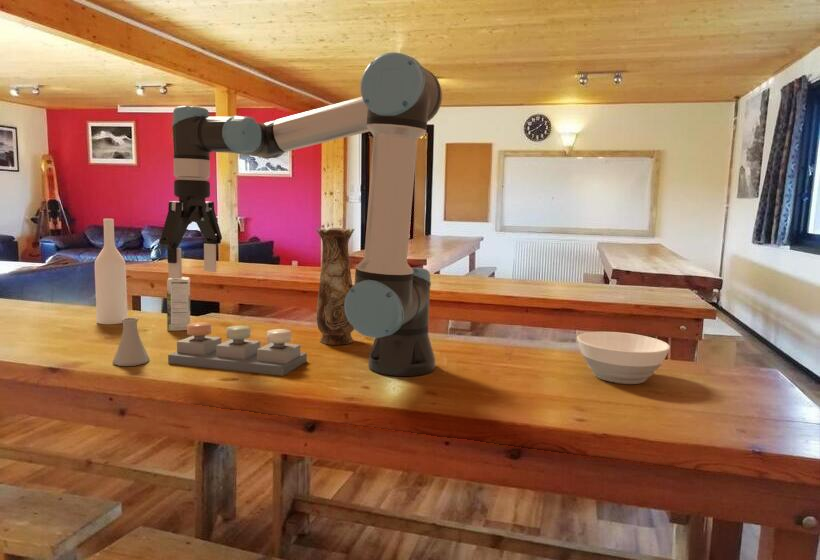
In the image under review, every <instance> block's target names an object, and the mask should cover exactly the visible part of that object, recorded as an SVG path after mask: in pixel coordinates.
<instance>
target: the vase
mask: <svg viewBox="0 0 820 560" xmlns="http://www.w3.org/2000/svg"><path fill="white" fill-rule="evenodd" d="M315 230H316V231H317V233H318V235H319V237H320V239H321V241H322V245H321V246H322V250H321V251H322V252H321V253H322V254H321V255H322V256H321V267H320V278H319V284H318V295H317V304H316V324H317V329H318V331H319V332H320V333H321V337H320V341H319V342H320V343H322V344H324V345H329V346H330V345H332V346H333V345H334V346H337V345H339V346H340V345H347V344H352V343H353V342H354V339H353V337H352V332H353V331H354V330H355V329H354V327H353V326H352V325H351V324H350V323H349V321H348V319H347V317H346V314H345V308H344V304H345V298H346V295H347V293H348V292H349V290H350V289H351V288H352V287H353V286H354V285H353V279H352V272H351V264H350V255H349V240H350V239H351V236H352V235H353V233H354V231H355V228H346V229H344V228H342V227H330V228H328V229H325V228H321V229H320V228H316V229H315Z"/></svg>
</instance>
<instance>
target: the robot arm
mask: <svg viewBox="0 0 820 560" xmlns="http://www.w3.org/2000/svg"><path fill="white" fill-rule="evenodd" d="M359 90H360V95H361V96H358V97H355V98H351V99H348V100H344V101H340V102H337V103H332V104H329V105H325V106H322V107H318V108H314V109H310V110H308V111H302V112H300V113H296V114H291V115H289V116H285V117H281V118H277V119H274V120H270V121H267V122H257V121H256V119H255V118H254V117H250V116H242V115H239V114H237V115H231V116H227V115H226V116H210V112H209V110H208V109H207V108H204V107H201V106H192V105H189V106H187V105H181V106H176V107H175V108H174V109H173V112H172V125H171V128H172V141H173V177H175V178H176V179H175V180H174V181H173V195H174V196H175V197H176V198H178V200H169V202H168V210H167V215H166V219H165V222H164V224H163V228H162V232H161V236H160V240H159V245H160V246H161V247H162V248H163V249H165V248H166V250H167V251H166V252H167V253H166V255H167V259H166V260H167V268H168V270H167V271H168V272H167V273H168V276H167V277H168V279H169V278H176V279H181V278H182V277H183V273H182V270H183V269H182V268H183V267H182V247H179V246H180V245H181V242H182V240H183V239H184V238H183V237H184V236H185V233H186V232H187V230H188V228H189V225H190V224H192V223H195V224H196V226H197V227H198V229H199V231H200V233H201V235H202V237H203V239H204V240H205V242H206V243H203V264H204V265H203V269H204V270H203V271H204V272H211V273H213V272H214V273H215V272H217V245H219V244H221V243H222V239H223V235H222V233H221V228H220V225H219V222H218V218H217V215H216V212H215V203H214V201H209V200H208V201H206V199H207V198H210V197H211V182H210V181H208V179H210V178H211V167H210V166H211V163H210V161H211V159H210V157H211V154H210V153H231V154H237V155H246V156H253V157H258V158H262V159H277V158H280V157H282V156H283V154H284V153H286V152H291V151H295V150H298V149H303V148H307V147H311V146H314V145H315V146H316V145H319V144H323V143H328V142H332V141H336V140H339V139H340V140H341V139H344V138H345V139H346V138H349V137H352V136H356V135H361V134H364V133H368V132H370V133H371V134H372V137H373V140H372V153H371V154H372V155H371V164H370V165H371V166H370V180H369V191H368V203H367V204H368V205H367V206H368V207H367V218H366V231H365V241H364V242H365V243H364V254H363V256H364V257H363V259H362V260H360V262H358V264H357V265H356V266H355V274H354V284H353V285H352V286H353V287H352V288H351V289H350V290H349V292H348V293H347V295H346V298H345V304H344V308H345V314H346V317H347V319H348V321H349V323H350V324H351V325H352V326H353V327H354V330H355V331H356V332H357V333H359V334H361V335H363V336H364V337H368V338H372V339H374V341H373V344H372V346H371V349H370V353H369V356H368V368H369V370H371V371H373V372H375V373H378V374H380V375H381V374H382V375H387V376H395V377H414V376H415V377H416V376H422V375H426V374H430V373H432V372H433V371H435V369H436V357H435V354H434V349H433V346H432V343H431V340H430V335H429V326H430V324H429V323H430V299H431V298H430V296H431V295H430V292H431V285H432V282H431V274H430V271H429V270H428V269H426V268H423V267H411V266H410V264H408V253H409V252H408V251H409V241H410V229H411V220H412V219H411V217H412V207H413V196H414V184H415V183H414V182H415V172H416V164H417V163H416V162H417V153H418V152H417V151H418V149H417V148H418V142H419V139H420V138H421V137H423V136H424V135H425V134H426V133H427V129H428V128H427V126H428V122H430V121H431V120H432V119H433V118H434V117H435V116H436V115H437V114H438V112H439V110H440V108H441V106H442V105H441V104H442V98H443V95H442V94H443V91H442V86H441V84H440V82H439V80H438V78H437V77H436V76H435V74H434V73H432V72H431V71H430V70H428V69H427V68H425V67H424V66H423V65H421V63H420V62H419V61H418V60H416V59H415V58H414V57H412V56H409V55H406V54H404V53H402V52H386V53H383V54H381V55H379V56H377V57H376V58H375V59H373V60H372V61H371V62H370V63H369V64H368V65H367V67H366V68H365V70H364V72H363V74H362V76H361V80H360V89H359Z"/></svg>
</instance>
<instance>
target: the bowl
mask: <svg viewBox="0 0 820 560" xmlns="http://www.w3.org/2000/svg"><path fill="white" fill-rule="evenodd" d="M576 339H577V343H578V347H579V351H580V353H581V355H582V357H583V359H584V361H585V362H586V363H587V366H588V368H589V369H590V370H591V371H592V373H593V375H594V376H595V377H596V378H598V379H600V380H602V381H605V382H610V383H613V382H614V384H620V385H638V384H643V383H645V382H646V381H647V380H648V378H650V377H651V376H653V375H654V373H655V371H656V370H658V369H659V368H660V366H661V365H662V363H664V361H665V359H666V358H667V355H668V353H669V351H670V349H671V346H670V345H669V343H667V342H665V341H664V340H661V339H658V338H654V337H651V336H647V335H642V334H635V333H630V332H619V331H588V332H584V333H580V334H578V335H577V336H576Z"/></svg>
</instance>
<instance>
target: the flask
mask: <svg viewBox="0 0 820 560" xmlns="http://www.w3.org/2000/svg"><path fill="white" fill-rule="evenodd" d="M121 321H122V322H123V323H122V333H121V338H120V341H119V343H118V347H117V350H116V352H115V354H114V358H113V360H112V365H116V366H119V367H135V366H138V365H142V364H147V362H149V361H150V360H151V359H150V356H149V354H148V353H147V349H146V348H145V346H144V344H143V341H142V339H141V337H140V335H139V330H138V329H139V328H138V321H139V318H137V317H128V318H124V319H122V320H121Z"/></svg>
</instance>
